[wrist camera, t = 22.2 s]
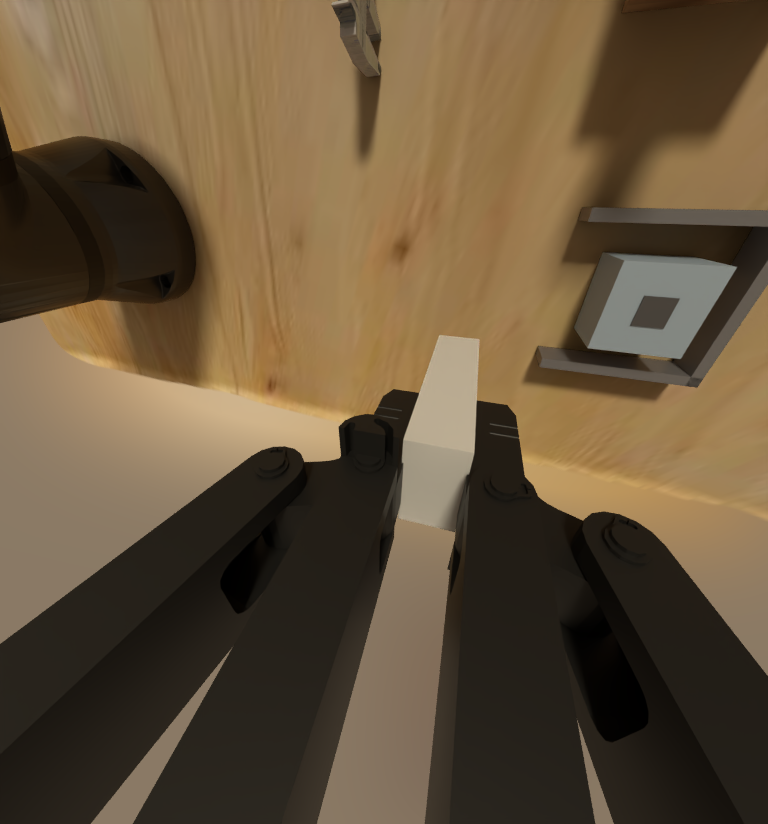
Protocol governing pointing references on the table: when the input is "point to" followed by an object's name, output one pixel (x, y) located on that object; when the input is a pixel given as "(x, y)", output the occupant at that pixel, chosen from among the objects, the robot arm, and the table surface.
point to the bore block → (666, 4)
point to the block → (649, 302)
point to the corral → (756, 268)
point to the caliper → (360, 33)
